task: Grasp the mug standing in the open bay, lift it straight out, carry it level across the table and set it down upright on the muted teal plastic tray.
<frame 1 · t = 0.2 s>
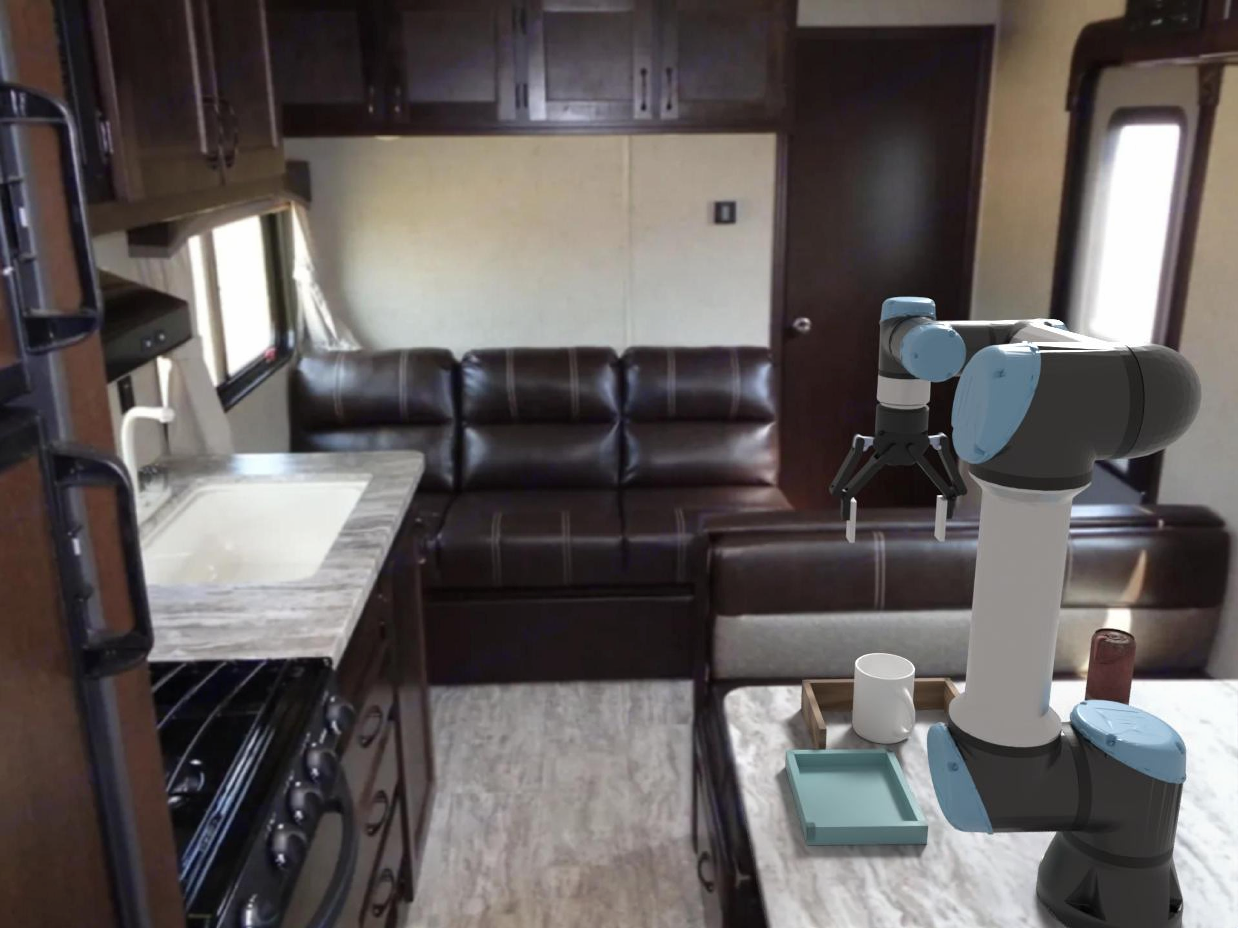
hand: (894, 539, 158), 27 cm above the table, fingers open, 13 cm apart
can: (1103, 720, 158), on the table
bay: (885, 732, 156), on the table
mug: (887, 737, 155), on the table
tray: (851, 802, 138), on the table
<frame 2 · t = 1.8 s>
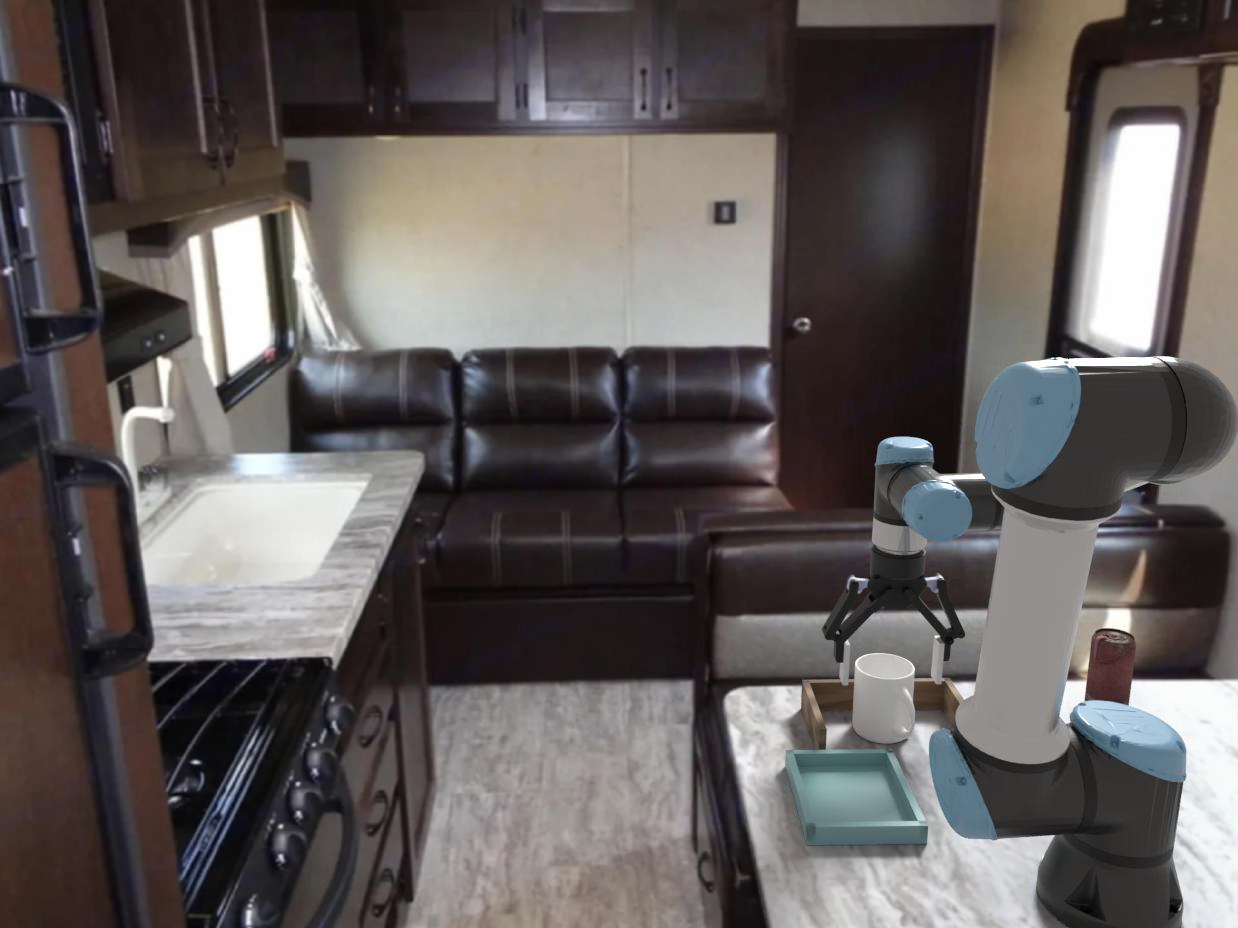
hand: (889, 680, 153), 9 cm above the table, fingers open, 13 cm apart
nothing on the table moved.
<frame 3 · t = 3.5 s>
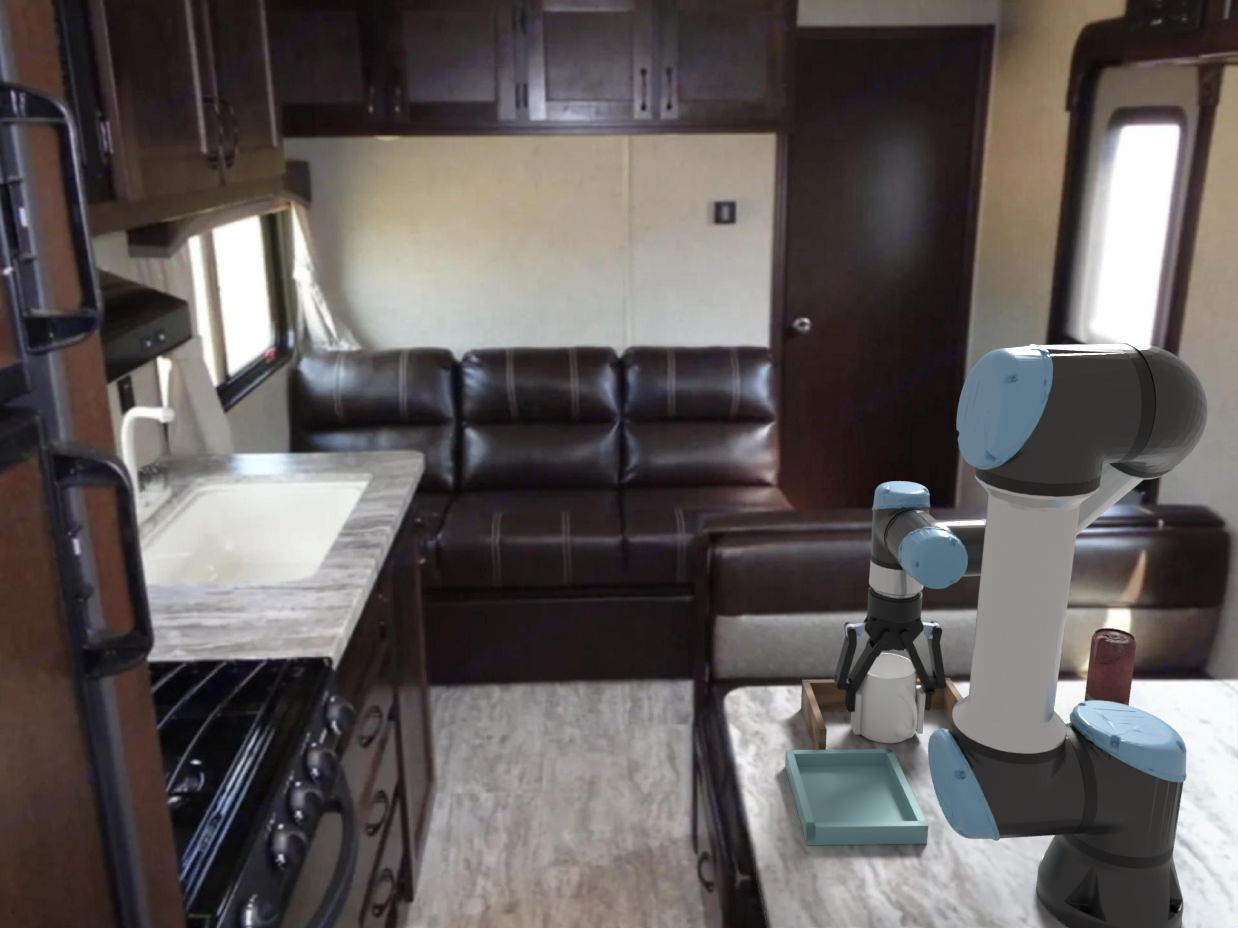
hand: (886, 729, 154), 1 cm above the table, fingers closed on mug, 9 cm apart
mug: (889, 736, 155), on the table, touching gripper
everything else where it was.
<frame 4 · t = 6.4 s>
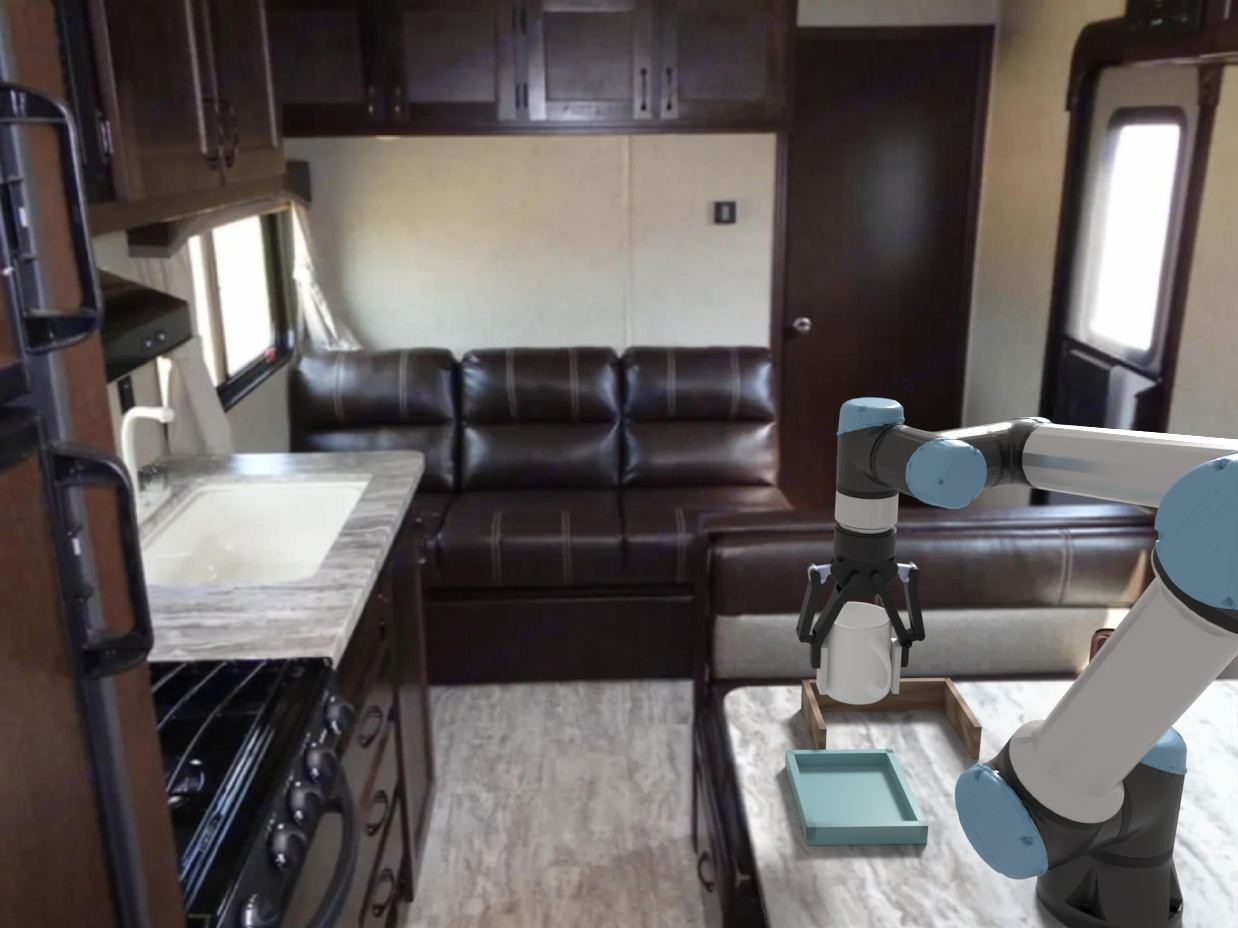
hand: (857, 689, 134), 17 cm above the table, fingers closed on mug, 9 cm apart
mug: (861, 697, 134), point 16 cm above the table, touching gripper
everything else where it was.
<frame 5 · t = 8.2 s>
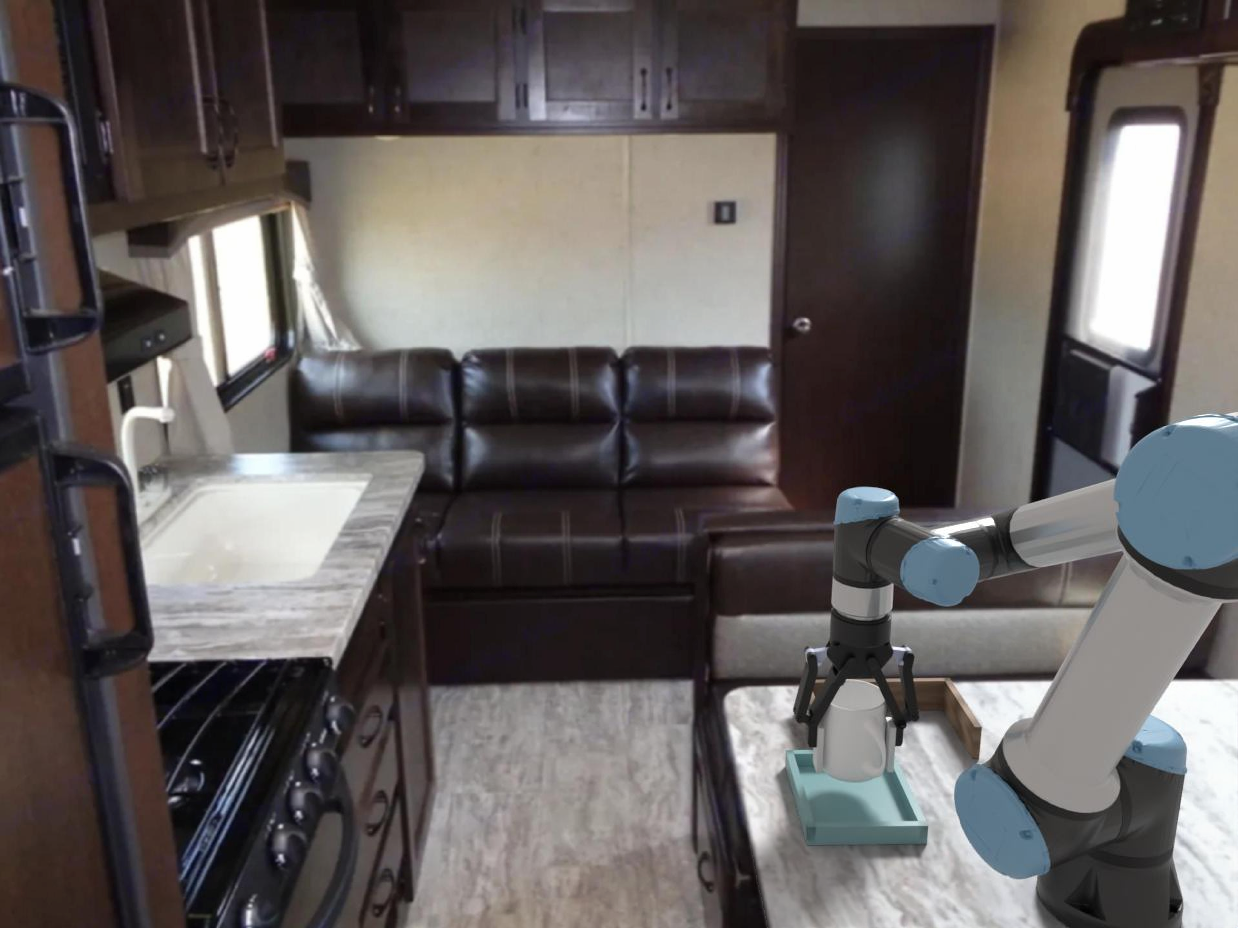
hand: (852, 766, 137), 5 cm above the table, fingers closed on mug, 9 cm apart
mug: (856, 774, 137), point 4 cm above the table, touching gripper
everything else where it was.
when the fingers open (3 cm above the table, at t = 9.7 s): mug drops 1 cm, resting on tray.
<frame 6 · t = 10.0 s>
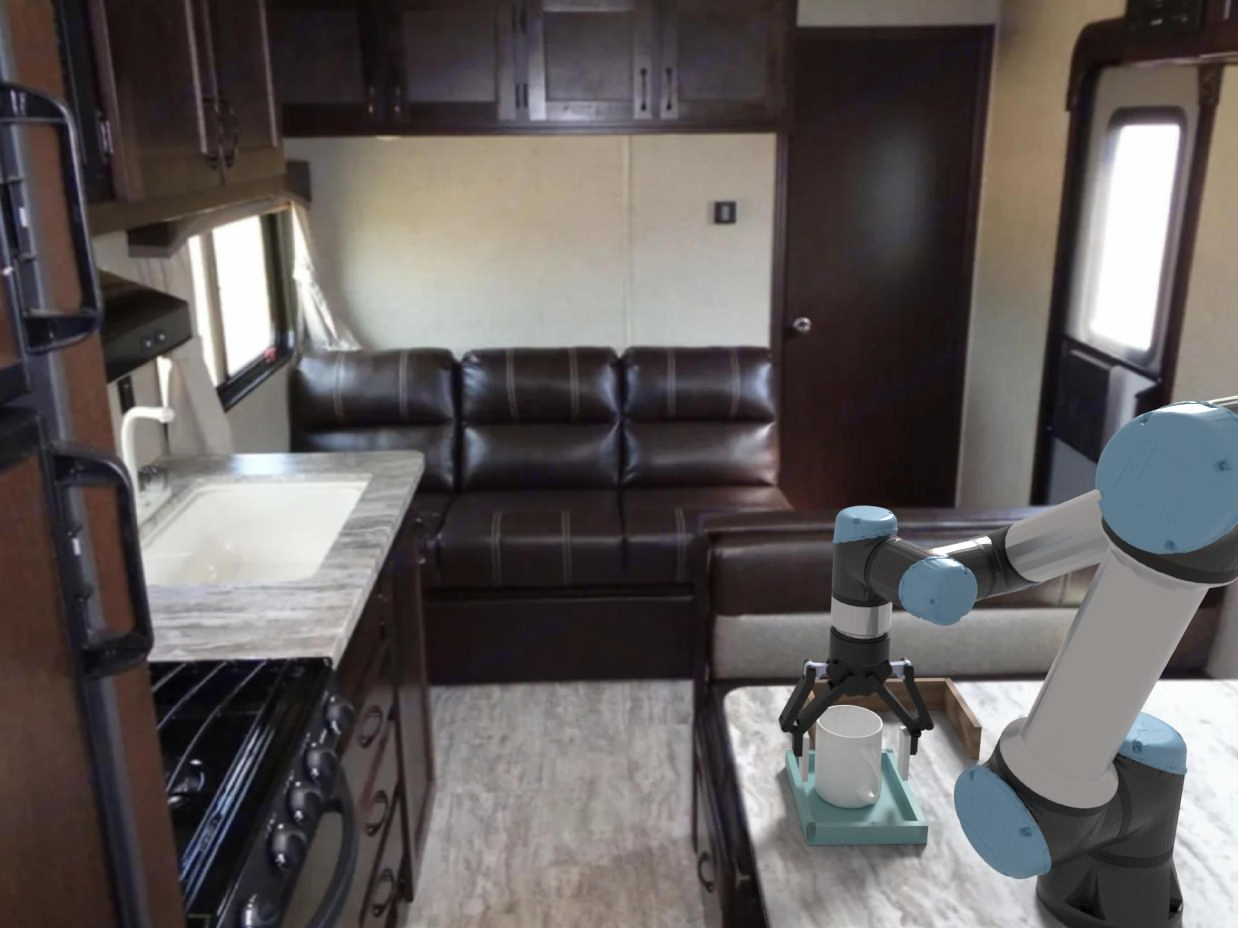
hand: (852, 775, 137), 4 cm above the table, fingers open, 12 cm apart
mug: (853, 800, 138), resting on tray
everything else where it was.
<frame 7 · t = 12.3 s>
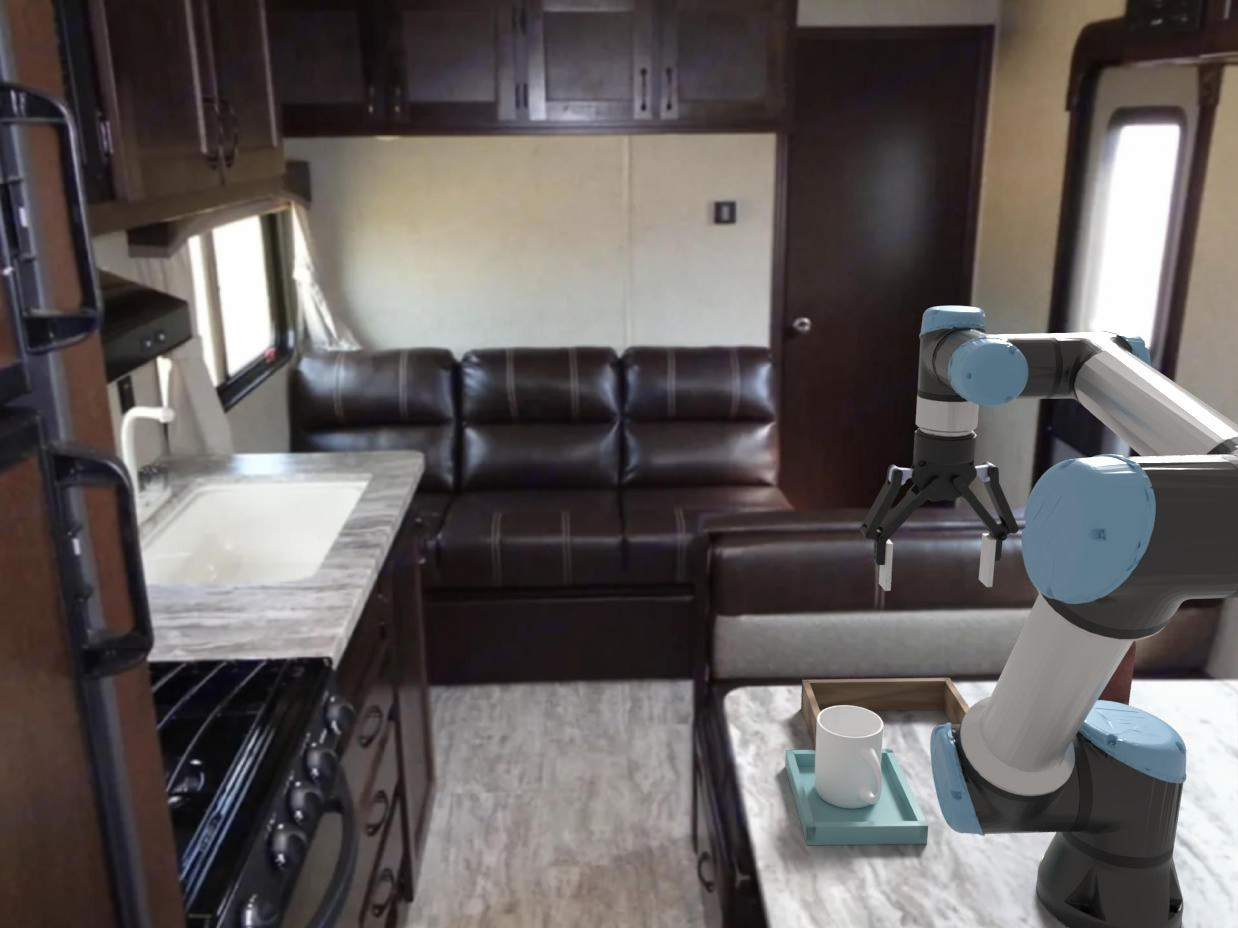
hand: (935, 585, 137), 28 cm above the table, fingers open, 13 cm apart
nothing on the table moved.
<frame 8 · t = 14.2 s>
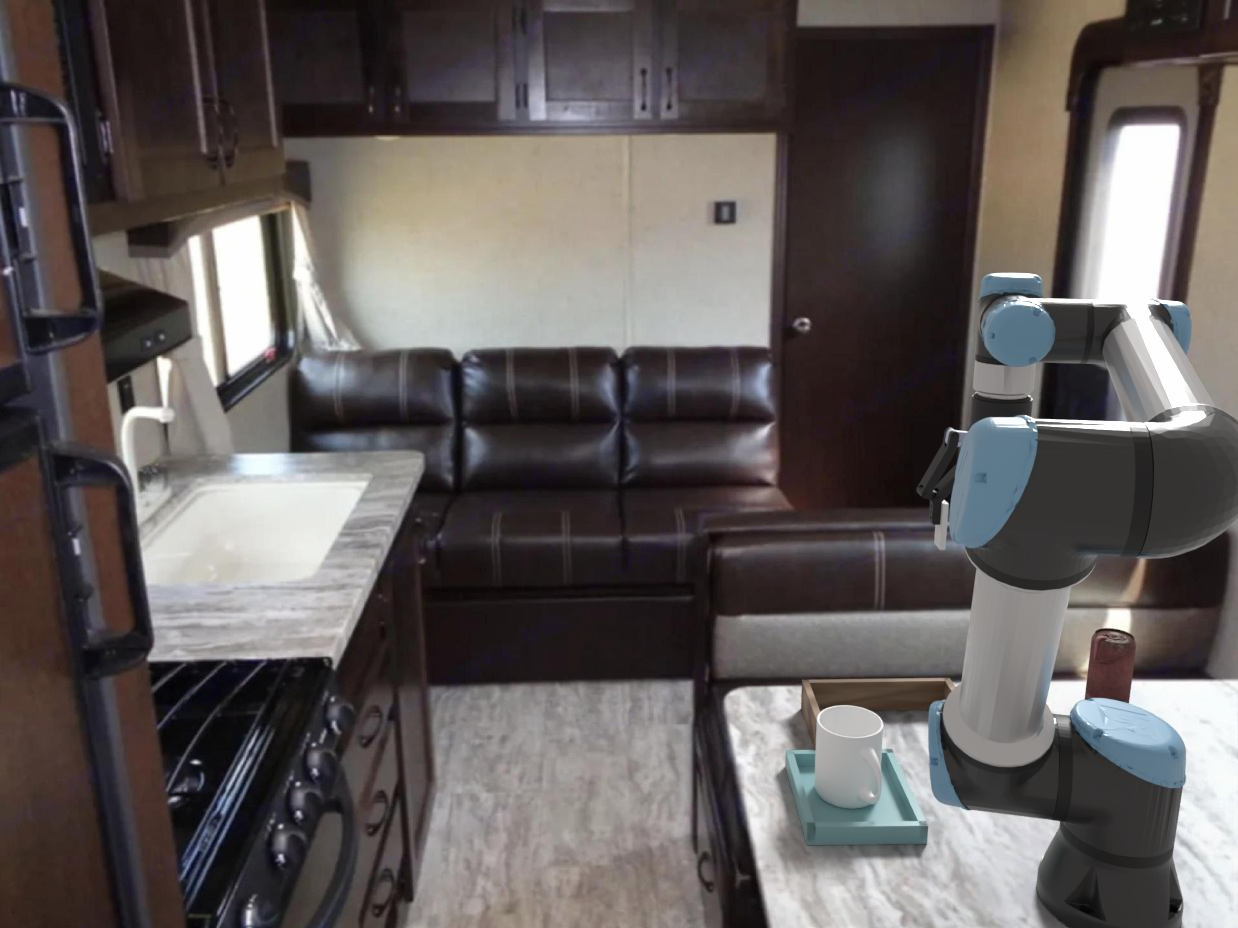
hand: (989, 546, 141), 32 cm above the table, fingers open, 13 cm apart
nothing on the table moved.
at the end: mug inside the target area on the tray (0.2 cm from its centre), point 0.4 cm above the tray's base; mug tilted 0°; the gripper is holding nothing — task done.
